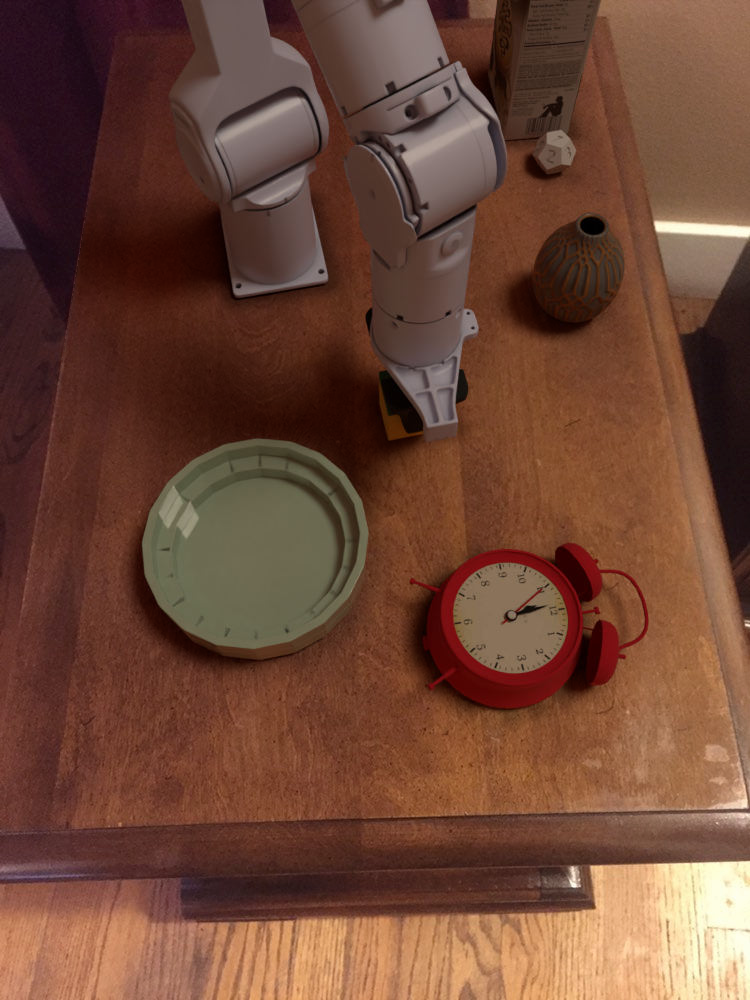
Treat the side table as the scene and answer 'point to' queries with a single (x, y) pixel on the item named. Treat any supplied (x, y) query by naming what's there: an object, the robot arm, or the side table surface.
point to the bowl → (257, 548)
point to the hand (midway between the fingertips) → (413, 404)
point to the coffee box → (539, 63)
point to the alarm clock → (520, 625)
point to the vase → (579, 269)
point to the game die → (554, 152)
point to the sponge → (391, 415)
